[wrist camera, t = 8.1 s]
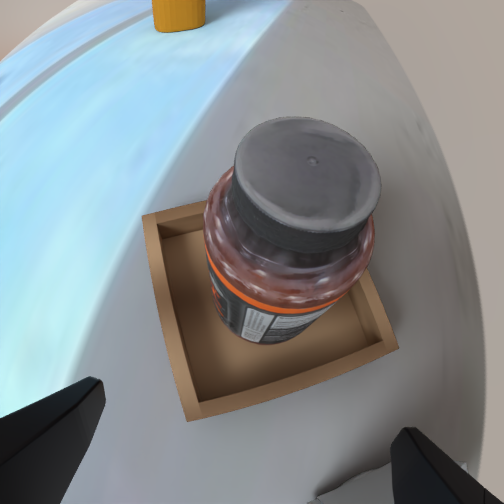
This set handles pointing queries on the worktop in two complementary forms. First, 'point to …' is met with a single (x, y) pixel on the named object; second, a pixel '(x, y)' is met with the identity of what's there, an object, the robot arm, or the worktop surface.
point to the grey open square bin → (366, 488)
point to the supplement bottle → (289, 227)
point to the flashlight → (178, 14)
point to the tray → (236, 349)
